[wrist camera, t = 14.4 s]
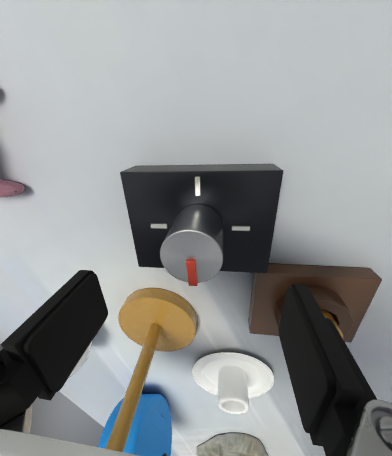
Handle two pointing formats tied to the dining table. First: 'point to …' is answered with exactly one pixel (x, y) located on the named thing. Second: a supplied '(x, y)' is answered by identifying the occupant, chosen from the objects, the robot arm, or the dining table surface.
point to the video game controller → (10, 188)
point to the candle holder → (233, 379)
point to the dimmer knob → (194, 245)
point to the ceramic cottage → (232, 446)
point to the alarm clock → (145, 427)
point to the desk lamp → (150, 344)
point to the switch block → (322, 291)
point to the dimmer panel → (209, 196)
